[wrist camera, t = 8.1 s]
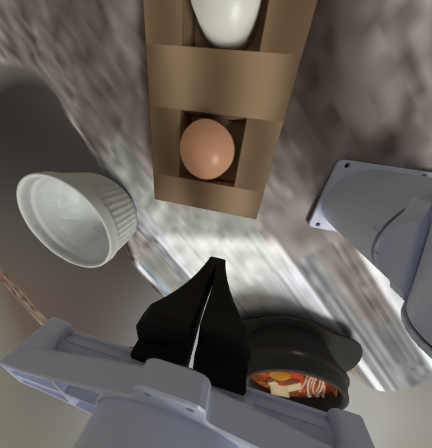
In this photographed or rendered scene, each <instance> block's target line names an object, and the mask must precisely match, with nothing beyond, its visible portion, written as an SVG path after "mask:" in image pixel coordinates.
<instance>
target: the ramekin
mask: <svg viewBox="0 0 432 448" xmlns="http://www.w3.org/2000/svg"><path fill="white" fill-rule="evenodd" d="M17 201H18V206H19V209H20V212H21V214H22V216H23V218H24V220H25V221H26V223H27V225H28V226H29V228H30V229H31V231H32V232H33V233H34V234H35V235H36V237H37V238H38V239H39V240H40V241H41V242H42V243H43V244H44V245H45V246H46V247H47V248H49V249H50V250H51V251H52V252H54V253H55V254H56V255H58V256H60V257H61V258H63V259H65V260H66V261H69V262H70V263H73V264H75V265H79V266H82V267H90V268H92V267H99V266H101V265H103V264H105V263H106V262H108V261H109V260H110V259H111V258H113V257H114V255H115V254H116V252H117V251H118V249H120V248H121V247H122V246H123V245H124V244H125V243H126V242H127V241H128V240H129V239H130V238H131V237H132V236H133V234H134V233H135V230H136V227H137V212H136V209H135V206H134V204H133V201H132V200H131V198H130V197H129V195H128V194H127V193H126V192H125V190H124V189H123V188H122V187H120V186H119V185H118V184H116V183H115V182H114V181H112V180H111V179H109V178H107V177H105V176H102V175H99V174H96V173H88V172H87V173H85V172H78V173H58V172H52V171H44V172H38V173H32V174H29V175H27V176H25V177H23V178H22V179H21V181H20V182H19V184H18V187H17Z"/></svg>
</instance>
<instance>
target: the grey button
mask: <svg viewBox="0 0 432 448" xmlns="http://www.w3.org/2000/svg"><path fill="white" fill-rule="evenodd" d="M261 1H262V0H191V3H192V6H193V9H194V12H195V14H196V17H197V19H198V22H199V24H200V27H201V29H202V32H203V34H204V37H205V39H206V42H207V44H208V46H209V47H210V48H214V49H227V50H241V51H245V50H246V49H247V48H248V47H249V45H250V44H251V42H252V41H253V39H254V37H255V34H256V32H257V29H258V26H259V21H260V13H261Z"/></svg>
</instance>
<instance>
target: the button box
mask: <svg viewBox="0 0 432 448" xmlns="http://www.w3.org/2000/svg"><path fill="white" fill-rule="evenodd" d="M317 1H318V0H262V1H261V13H260V21H259V26H258V29H257V32H256V34H255V37H254V39H253V41H252V42H251V44H250V45H249V47H248V48H247V49H246V50H245V51H241V50H227V49H214V48H210V47H209V46H208V44H207V42H206V39H205V37H204V34H203V32H202V29H201V27H200V24H199V22H198V19H197V17H196V14H195V12H194V9H193V6H192V3H191V0H143V3H144V20H145V38H146V55H147V72H148V89H149V106H150V123H151V140H152V157H153V175H154V192H155V199H157V200H162V201H167V202H172V203H177V204H182V205H187V206H192V207H197V208H202V209H207V210H212V211H217V212H222V213H227V214H232V215H237V216H242V217H247V218H252V219H256V217H257V214H258V210H259V207H260V203H261V200H262V196H263V193H264V189H265V185H266V182H267V178H268V175H269V171H270V168H271V164H272V161H273V157H274V153H275V150H276V146H277V143H278V139H279V136H280V132H281V129H282V125H283V121H284V118H285V114H286V111H287V107H288V104H289V100H290V97H291V93H292V90H293V86H294V82H295V79H296V75H297V72H298V68H299V65H300V61H301V58H302V54H303V50H304V47H305V43H306V40H307V36H308V33H309V29H310V26H311V22H312V18H313V15H314V11H315V8H316V4H317ZM200 119H211V120H214V121H216V122H218V123H220V124H221V125H222V126H223V127H225V128H226V129H227V130H228V131H229V132H230V133H231V135H232V136H233V138H234V141H235V144H236V155H235V158H234V161H233V163H232V164H231V166H230V167H229V168H228V169H227V170H226V171H225V172H224V173H223V174H221V175H220V176H218V177H216V178H213V179H201V178H198V177H196V176H194V175H193V174H191V173H190V172H189V171H188V170H187V168H186V167H185V165H184V163H183V161H182V159H181V154H180V142H181V138H182V135H183V133H184V131H185V130H186V128H187V127H188V126H189V125H190V124H192V123H193V122H195V121H197V120H200Z"/></svg>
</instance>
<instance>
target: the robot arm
mask: <svg viewBox="0 0 432 448" xmlns="http://www.w3.org/2000/svg"><path fill="white" fill-rule="evenodd" d="M346 163H348V166H347V167H346V168H345V167H344V166H345V164H346ZM421 175H423V176H421ZM316 223H319V224H318V225H316ZM309 225H310V226H311V227H315V228H320V229H325V230H330V231H335V232H339V233H340V234H341V235H342V236H343V237H344V238H345V239H346V240H348V241H349V242H350V243H351V244H352V245H353V246H354V247H355V248H356V249H357V250H358V251H359V252H360V253H361V254H362V255H363V256H365V257H366V258H367V259H368V260H369V261H370V262H371V263H372V264H373V265H374V266H375V267H376V268H377V269H379V270H380V272H381V273H383V274H384V275H385V276H386V277H387V278H388V279H389V281H390V287H391V288H392V289H393V290H394V291H395V292H396V293H397V294H398V295H399V296H400V297H401V298H402V299H403V300H405V301H404V304H403V306H402V308H401V318H402V322H403V324H404V327H405V329H406V330H407V332H408V333H409V335H410V336H411V338H412V339H413V340H414V341H415V342H416V344H417V345H418V346H419V347H420V348H421V349H422V350H423V351H424V352H425V353H426V354H427V355H428V356H429V357H430V358H432V172H426V171H419V170H412V169H406V168H399V167H392V166H385V165H378V164H371V163H364V162H358V161H351V160H344V159H342V160H339V161H337V162H336V164H335V166H334V168H333V171H332V173H331V175H330V177H329V179H328V181H327V183H326V186H325V188H324V190H323V192H322V194H321V196H320V198H319V201H318V203H317V205H316V207H315V209H314V211H313V214H312V216H311V218H310V220H309ZM225 262H226V261H225V260H224V259H220V258H216V257H210V258H209V260H208V261H207V262H206V264H205V265H204V266H203V267H202V268H201V269H200V271H199V272H198V273H197V274H196V275H195V276H193V277H192V278H191V279H190V280H189V281H188V282H187V283H185V284H184V285H183V286H181V287H180V288H179V289H177V290H176V291H174V292H172V293H171V294H169V295H168V296H166V297H164V298H162V299H160V300H158V301H156V302H154V303H152V304H151V305H150V306H149V307H148V309H147V310H146V311H145V312H144V314H143V315H142V317H141V319H140V320H139V322H138V324H137V325H136V329H137V334H138V341H137V343H136V345H135V346H134V348H133V349H131V348H128V347H125V346H121V345H118V344H115V343H112V342H109V341H106V340H103V339H100V338H97V337H94V336H91V335H88V334H85V333H81V332H78V331H75V330H73V327H72V325H71V324H70V323H69V322H67V321H63V320H61V319H57V318H54V317H53V318H51V319H49V320H48V321H47V322H46V323H45V324H44V325H42V326H41V327H40V328H39V329H38V330H37V331H35V332H34V333H33V334H32V335H31V336H30V337H28V338H27V339H26V340H25V341H24V342H23V343H22V344H20V345H19V346H18V347H17V348H16V349H14V350H13V351H12V352H11V353H10V354H9V355H7V356H6V357H5V358H4V359H3V360H2V361H0V365H1V366H2V367H3V368H5V369H6V370H7V371H8V372H9V373H10V374H11V375H13V376H14V377H15V378H16V379H17V380H19V381H20V382H21V383H23V384H26V385H28V386H31V387H33V388H36V389H38V390H40V391H43V392H45V393H47V394H49V395H52V396H54V397H56V398H58V399H60V400H62V401H65V402H67V403H69V404H71V405H73V406H75V407H78V408H80V409H82V410H84V411H86V412H88V413H90V414H92V416H91V418H90V419H89V421H88V423H87V424H86V426H85V428H84V429H83V431H82V433H81V435H80V436H79V438H78V440H77V441H76V443H75V445H74V447H73V448H375V447H374V445H373V442H372V440H371V438H370V435H369V433H368V431H367V428H366V426H365V423H364V421H363V419H362V417H361V416H360V415H357V414H354V413H351V412H348V411H345V410H342V409H338V408H332V409H330V410H329V411H328V412H324V411H321V410H318V409H315V408H312V407H309V406H306V405H303V404H300V403H297V402H293V401H290V400H287V399H284V398H281V397H278V396H275V395H272V394H269V393H266V392H263V391H260V390H257V389H254V388H250V387H247V386H246V374H247V372H248V362H249V360H250V358H251V356H252V346H251V340H250V335H249V331H248V329H247V328H246V326H245V324H244V322H243V320H242V318H241V317H240V315H239V312H238V310H237V308H236V306H235V303H234V301H233V298H232V295H231V292H230V289H229V285H228V281H227V276H226V268H225ZM211 288H212V289H211ZM210 291H211V292H210ZM209 293H210V295H209ZM208 296H209V299H208ZM207 299H208V302H207V305H206V308H205V311H204V314H203V317H202V313H203V310H204V307H205V304H206V301H207ZM201 317H202V320H201ZM200 320H201V323H200ZM199 324H200V330H199V337H198V344H197V347H196V351H195V355H194V364H193V369H192V368H189V367H188V366H189V362H190V359H191V355H192V351H193V347H194V343H195V339H196V335H197V332H198V328H199Z"/></svg>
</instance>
